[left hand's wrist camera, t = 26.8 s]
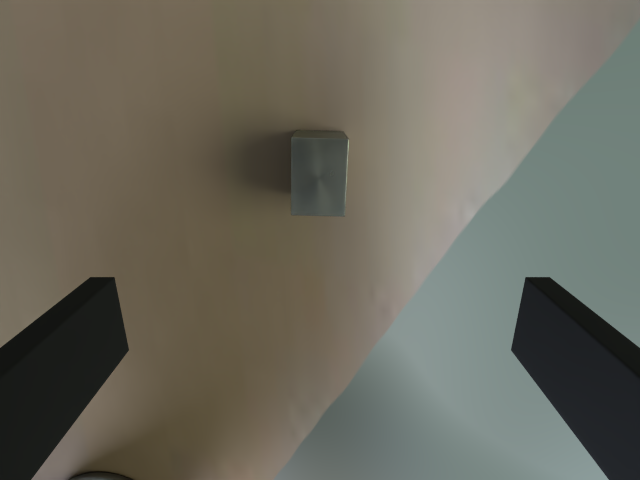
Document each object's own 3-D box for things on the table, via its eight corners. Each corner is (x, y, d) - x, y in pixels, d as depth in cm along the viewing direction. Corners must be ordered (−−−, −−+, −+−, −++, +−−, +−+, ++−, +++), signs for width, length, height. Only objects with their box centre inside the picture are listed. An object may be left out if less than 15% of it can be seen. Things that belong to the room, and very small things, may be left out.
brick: (340, 196, 42) (345, 216, 35) (295, 195, 42) (290, 215, 35) (343, 131, 40) (349, 138, 33) (296, 129, 40) (291, 137, 33)
